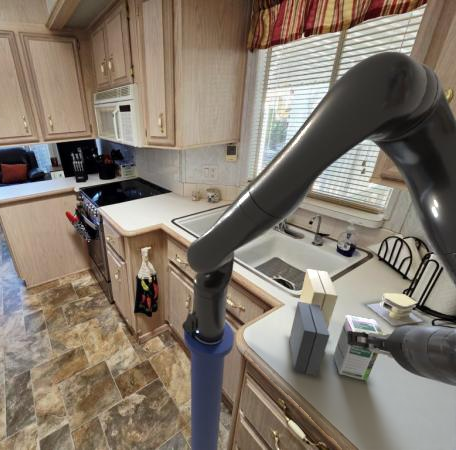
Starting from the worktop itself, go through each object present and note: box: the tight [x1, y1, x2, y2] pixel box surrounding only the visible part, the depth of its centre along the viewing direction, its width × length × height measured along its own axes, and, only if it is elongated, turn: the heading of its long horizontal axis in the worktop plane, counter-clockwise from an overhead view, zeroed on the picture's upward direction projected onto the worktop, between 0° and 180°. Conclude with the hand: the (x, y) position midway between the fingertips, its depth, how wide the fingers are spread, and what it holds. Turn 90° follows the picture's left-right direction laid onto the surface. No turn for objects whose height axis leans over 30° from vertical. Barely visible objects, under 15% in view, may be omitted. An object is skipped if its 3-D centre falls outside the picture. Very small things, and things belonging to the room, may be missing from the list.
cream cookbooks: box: [298, 268, 339, 330], centre depth 73 cm, size 5×11×16 cm, turn 160°
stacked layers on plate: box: [366, 292, 423, 327], centre depth 77 cm, size 10×9×6 cm
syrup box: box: [333, 314, 384, 381], centre depth 60 cm, size 6×6×14 cm
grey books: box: [288, 301, 330, 377], centre depth 63 cm, size 5×10×14 cm, turn 160°
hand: (379, 344), depth 51 cm, fingers open, 8 cm apart
